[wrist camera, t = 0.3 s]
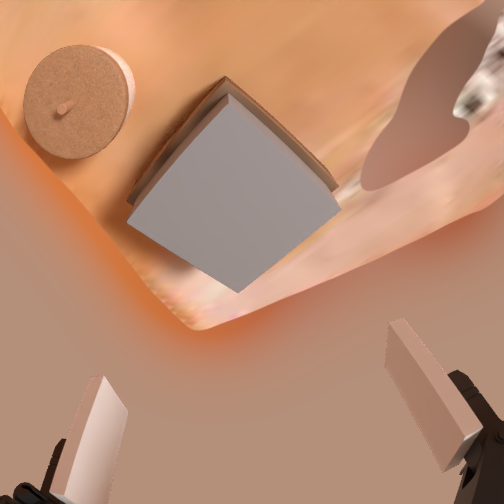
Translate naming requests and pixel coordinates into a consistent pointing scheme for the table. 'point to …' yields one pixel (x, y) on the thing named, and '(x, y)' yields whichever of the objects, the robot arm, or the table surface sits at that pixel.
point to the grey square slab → (232, 198)
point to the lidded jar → (78, 100)
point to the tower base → (255, 109)
